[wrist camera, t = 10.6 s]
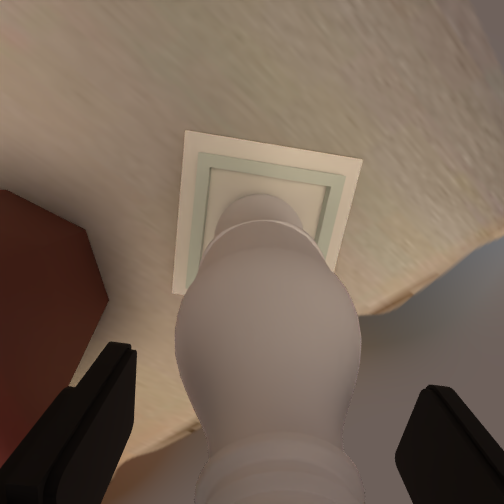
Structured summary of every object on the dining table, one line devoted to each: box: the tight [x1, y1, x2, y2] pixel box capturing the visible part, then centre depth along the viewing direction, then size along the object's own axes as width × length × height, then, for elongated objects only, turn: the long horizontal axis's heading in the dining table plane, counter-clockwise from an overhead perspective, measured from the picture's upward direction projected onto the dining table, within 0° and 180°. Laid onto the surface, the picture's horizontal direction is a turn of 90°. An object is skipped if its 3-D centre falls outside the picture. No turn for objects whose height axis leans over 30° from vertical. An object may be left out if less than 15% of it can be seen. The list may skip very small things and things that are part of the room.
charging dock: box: [172, 130, 363, 295], centre depth 28 cm, size 15×15×2 cm
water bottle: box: [175, 194, 365, 504], centre depth 16 cm, size 7×7×25 cm
